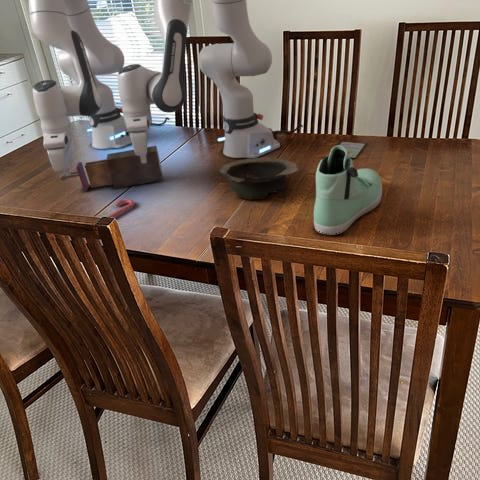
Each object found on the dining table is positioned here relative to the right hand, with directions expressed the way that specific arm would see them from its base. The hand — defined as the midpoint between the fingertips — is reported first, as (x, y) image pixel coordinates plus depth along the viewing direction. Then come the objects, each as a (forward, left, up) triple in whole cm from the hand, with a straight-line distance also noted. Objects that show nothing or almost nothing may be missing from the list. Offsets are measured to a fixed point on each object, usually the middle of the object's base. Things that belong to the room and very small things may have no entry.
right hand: (144, 158), depth 162 cm
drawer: (+16, -7, -8) cm, 19 cm away
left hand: (+23, -10, -2) cm, 26 cm away
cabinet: (+3, -1, -8) cm, 8 cm away
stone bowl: (-26, +30, -8) cm, 40 cm away
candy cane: (+18, +16, -8) cm, 25 cm away
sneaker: (-37, +59, -8) cm, 70 cm away
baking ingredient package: (-69, +25, -8) cm, 74 cm away
